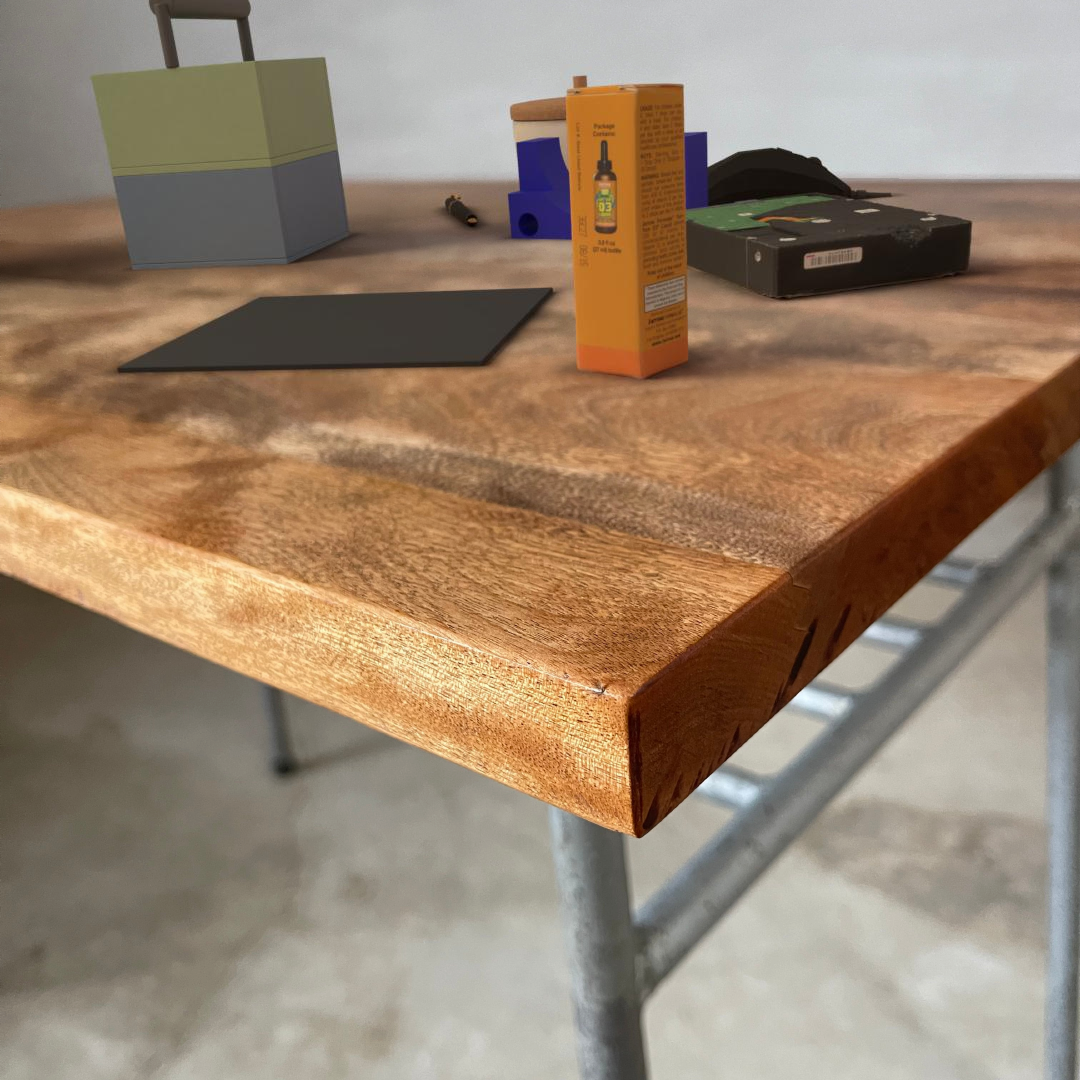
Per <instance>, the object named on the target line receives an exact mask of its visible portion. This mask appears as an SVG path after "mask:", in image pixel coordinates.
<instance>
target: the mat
mask: <svg viewBox="0 0 1080 1080" xmlns="http://www.w3.org/2000/svg"><path fill="white" fill-rule="evenodd" d="M553 293H554V288H553V287H522V288H520V287H519V288H518V287H517V288H494V289H493V288H492V289H490V288H489V289H461V290H458V289H457V290H431V291H429V290H428V291H404V292H403V291H402V292H373V293H369V292H368V293H341V294H340V293H339V294H312V295H284V296H281V295H280V296H260V297H257V298H255V299H253V300H252V301H251V300H250V301H249V302H247V303H245V304H243V305H241V306H239V307H237V308H235V309H232V310H231V311H229V312H227V313H224V314H222V315H221V316H219V317H216V318H214V319H212V320H210V321H209V322H207V323H204V324H203V325H200V326H199V327H196V328H195V329H194V328H193V329H192V330H190V331H188V332H186V333H184V334H182V335H180V336H178V337H176V338H174V339H172V340H170V341H168V342H166V343H164V344H162V345H160V346H158V347H155V348H153V349H152V350H149V351H147V352H145V353H143V354H142V355H139V356H137V357H135V358H134V359H131V360H130V361H127V362H125V363H123V364H122V365H119V366H117V367H116V370H117V373H118V374H127V373H128V374H129V373H133V374H134V373H184V372H185V373H186V372H187V373H189V372H191V373H192V372H239V371H241V372H242V371H243V372H245V371H246V372H247V371H296V370H298V371H299V370H300V371H304V370H350V369H351V370H354V369H355V370H357V369H362V370H363V369H414V368H415V369H416V368H467V367H468V368H469V367H471V368H472V367H474V368H475V367H476V368H477V367H478V368H479V367H483V366H484V365H485V364H486V363H488V361H489V360H490V359H491V358H492V357H494V355H495V354H496V353H497V352H498V351H499V350H500V349H501V348H502V347H503V345H505V343H506V342H507V341H508V340H509V339H510V338H511V337H512V336H513V335H514V334H515V333H516V332H517V331H518V330H519V329H520V328H521V327H522V326H523V324H524V323H526V321H527V320H528V319H529V318H530V317H531V316H532V315H533V314H534V313H535V312H536V311H537V310H538V308H540V306H542V304H544V302H545V301H546V300H547V299H548V298H549V297H550V296H551V295H552V294H553Z"/></svg>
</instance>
